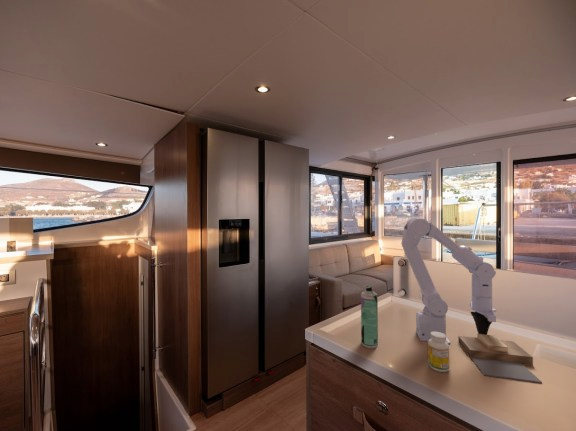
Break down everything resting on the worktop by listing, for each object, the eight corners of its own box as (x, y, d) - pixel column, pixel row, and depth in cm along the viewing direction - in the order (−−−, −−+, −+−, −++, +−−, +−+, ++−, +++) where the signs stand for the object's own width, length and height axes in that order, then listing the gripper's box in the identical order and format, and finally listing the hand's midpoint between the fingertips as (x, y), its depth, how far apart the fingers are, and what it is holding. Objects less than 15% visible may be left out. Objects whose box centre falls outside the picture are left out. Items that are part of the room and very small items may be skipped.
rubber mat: (484, 375, 71) (484, 374, 71) (470, 358, 80) (470, 357, 80) (541, 383, 67) (541, 381, 67) (521, 364, 76) (521, 363, 76)
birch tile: (488, 349, 80) (488, 345, 80) (477, 338, 88) (477, 333, 88) (507, 352, 78) (507, 347, 78) (494, 339, 86) (494, 335, 86)
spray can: (378, 342, 90) (378, 285, 90) (377, 349, 85) (376, 289, 85) (362, 339, 92) (362, 283, 93) (360, 346, 87) (359, 287, 88)
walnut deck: (470, 357, 80) (470, 349, 80) (458, 342, 89) (458, 335, 89) (532, 365, 76) (532, 357, 76) (513, 348, 85) (513, 341, 85)
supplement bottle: (447, 375, 71) (447, 340, 71) (426, 367, 75) (425, 335, 75) (450, 366, 75) (450, 333, 75) (430, 360, 79) (430, 328, 79)
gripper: (507, 303, 81) (507, 346, 81) (485, 290, 95) (485, 327, 95) (481, 301, 83) (481, 343, 83) (463, 289, 97) (463, 325, 97)
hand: (482, 334), depth 89 cm, fingers closed
